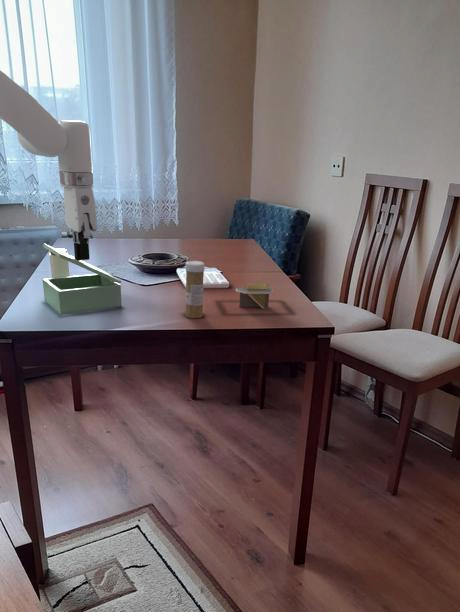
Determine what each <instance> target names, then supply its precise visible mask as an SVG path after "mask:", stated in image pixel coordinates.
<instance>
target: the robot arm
mask: <svg viewBox="0 0 460 612" xmlns="http://www.w3.org/2000/svg"><path fill="white" fill-rule="evenodd" d="M0 119H1V120H2V121H3V122H4V123H6V125H8V126H10V128H12V129H14V131H16V132H17V134H16V135H17V140H18V142H19V144H20V145H21V147H22V148H23V149H24V150H25V151H26V152H28V153H30V154H32V155H35V156H40V157H44V158H45V157H46V158H56V157H57V160H58V161H57V163H58V173H59V175H58V176H59V186H60V187H61V188H63V210H64V211H63V212H64V220H65V225H66V226H67V227H68V228H69V229H70V231H71V233H72V235H71V236H72V241H73V251H74V257H75V259H77V260H81V261H89V260H90V239H91V237H92V235H91V232H97V231H98V218H97V210H96V209H97V207H96V202H95V195H94V191H93V188H94V174H93V172H94V171H93V157H92V140H91V128H90V125H89V123H87V122H85V121H83V120H71V119H70V120H69V119H62V120H58V119H56V117H55V116H54V115H53V114H51V112H49V110H47V109H46V108H45V106H43V105H42V104H41V103H40V102H39V101H38V100H37V99H36V98H35V97H33V95H32V94H30V93H29V92H28V91H27V90H25V88H22V86H21V85H19V84H18V83H17V82H16V81H14V80H13V79H12V78H11V77H9V76H8V75H7V74H6V73H5V72H3V71H2V70H0Z"/></svg>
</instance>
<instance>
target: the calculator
mask: <svg viewBox="0 0 460 612" xmlns="http://www.w3.org/2000/svg"><path fill="white" fill-rule="evenodd" d="M176 274H177V276H178V278H179V279H180V281H181V282H182V284H183V286H184V288H186V267H178V268H176ZM203 283H204V286H203V289H228V288H229V287H230V282H229V280H228V279H226V277H225V276H224V275H223V274H222V273H221V271H220V270H219V269H217V268H216V267H204V276H203Z"/></svg>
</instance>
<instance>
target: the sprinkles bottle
mask: <svg viewBox="0 0 460 612" xmlns="http://www.w3.org/2000/svg"><path fill="white" fill-rule="evenodd" d="M185 268H186V287H185V313H184V315H185V317H187V318H189V319H200V318H202V317H204V314H203V304H204V288H203V286H204V283H203V276H204V268H205V262H203V261H200V260H189V261H186V262H185Z"/></svg>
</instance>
